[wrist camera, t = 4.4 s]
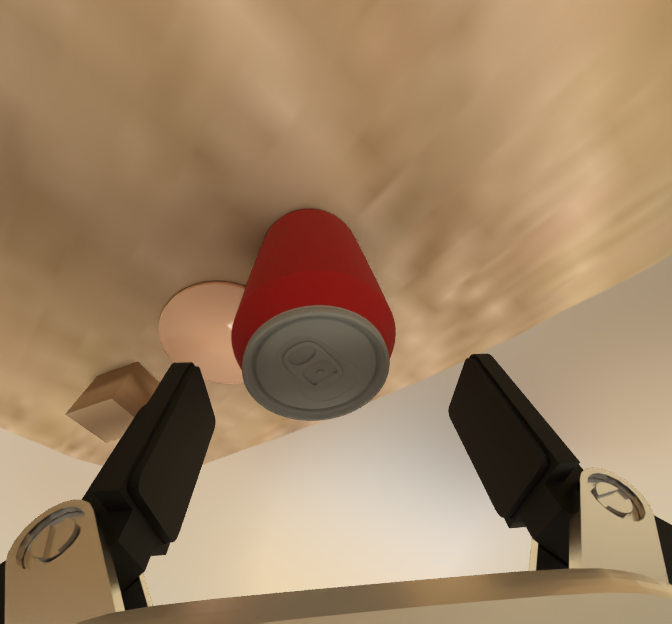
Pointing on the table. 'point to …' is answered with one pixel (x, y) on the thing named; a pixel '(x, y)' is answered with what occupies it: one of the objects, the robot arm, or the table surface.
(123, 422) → the walnut block
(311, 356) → the beverage can
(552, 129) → the table surface
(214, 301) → the coaster
